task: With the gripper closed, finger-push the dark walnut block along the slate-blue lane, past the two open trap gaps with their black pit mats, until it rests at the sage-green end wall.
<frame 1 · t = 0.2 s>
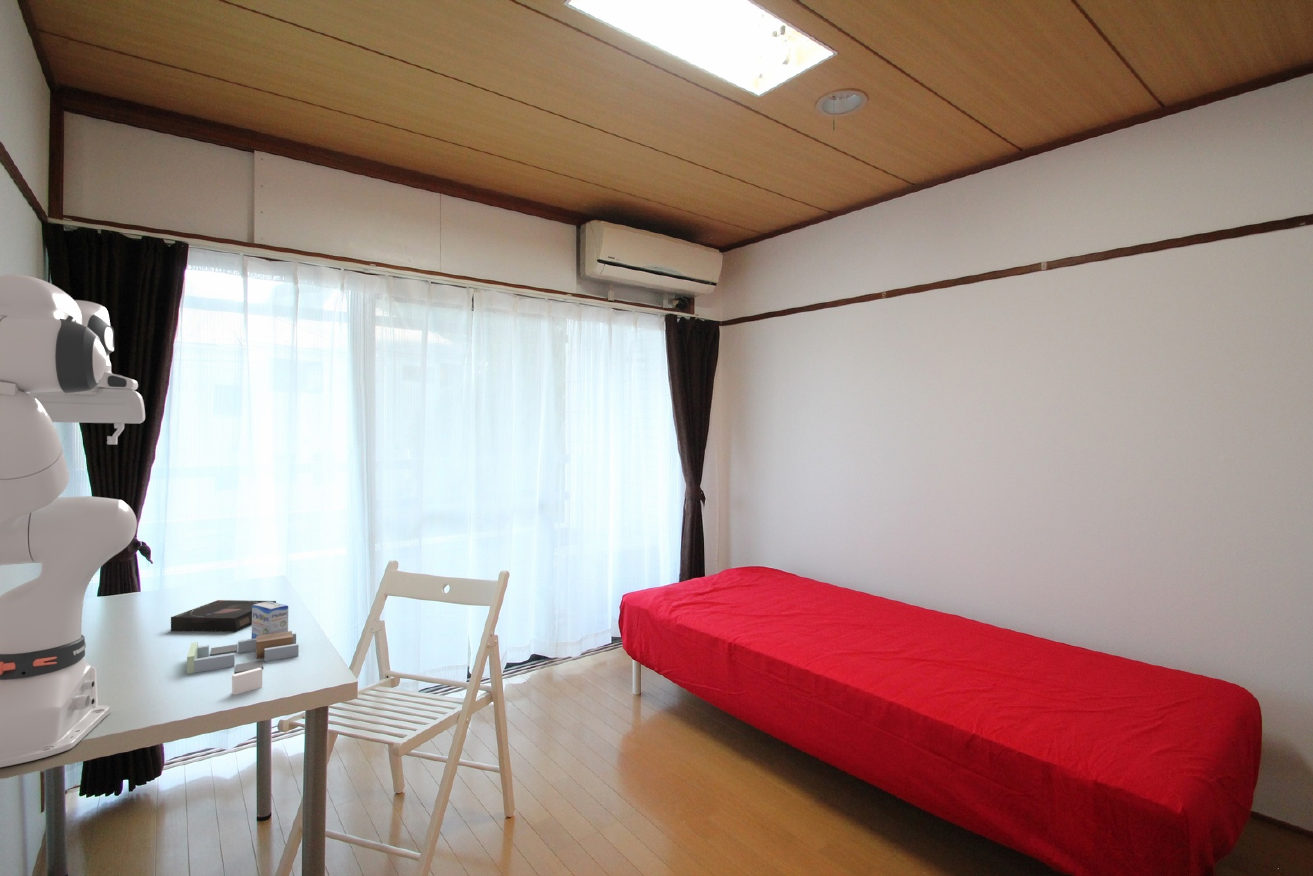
hand: (83, 444, 132), 48 cm above the table, fingers open, 8 cm apart
medicine box: (269, 641, 151), on the table
walnut block: (274, 653, 142), on the table
portable cd player: (227, 624, 166), on the table
eraser: (247, 691, 122), on the table
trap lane: (248, 656, 140), on the table
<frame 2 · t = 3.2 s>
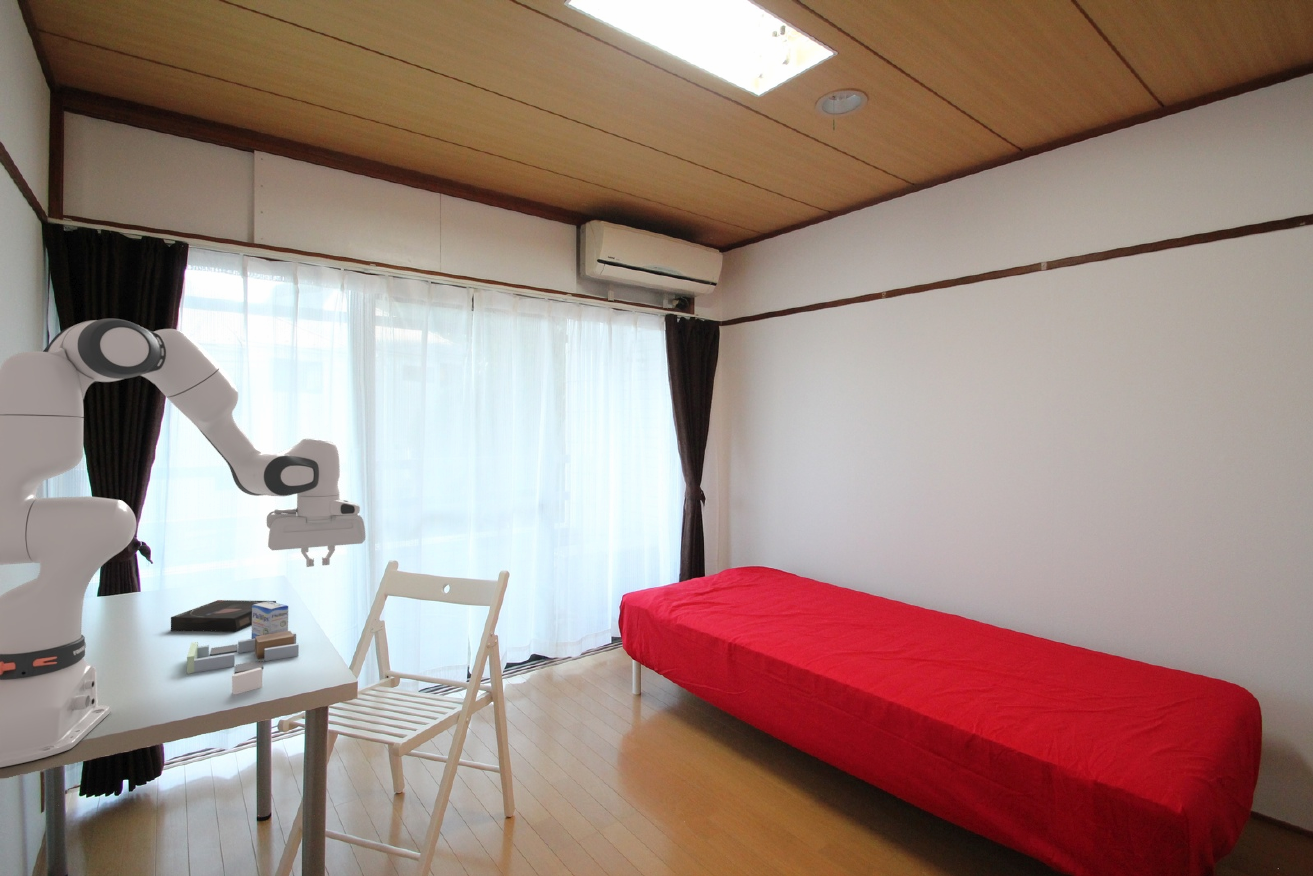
hand: (318, 565, 147), 19 cm above the table, fingers closed
nothing on the table moved.
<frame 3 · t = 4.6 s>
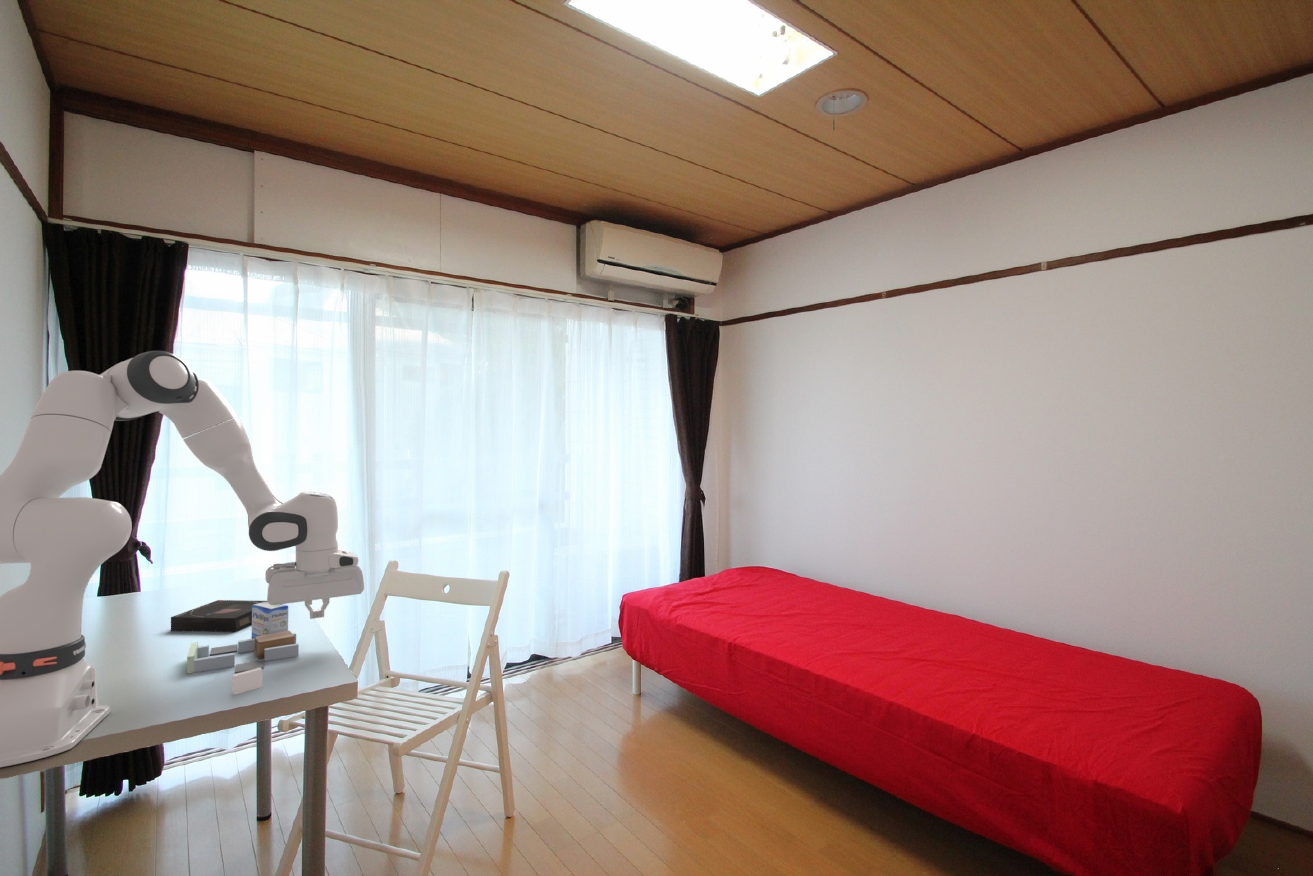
hand: (317, 617, 148), 7 cm above the table, fingers closed
nothing on the table moved.
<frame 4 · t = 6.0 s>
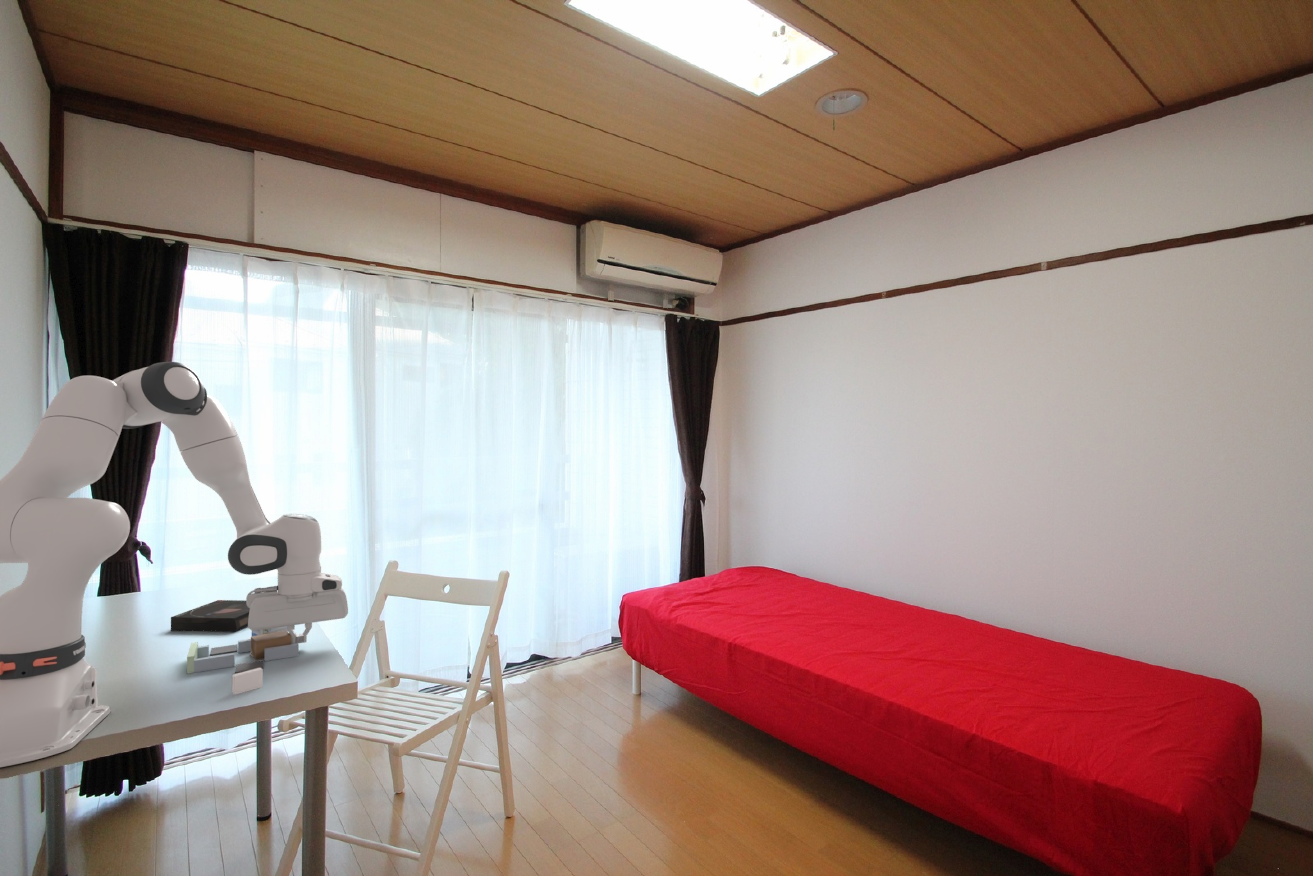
hand: (299, 642, 145), 2 cm above the table, fingers closed
walnut block: (271, 653, 142), on the table, touching gripper
everything else where it was.
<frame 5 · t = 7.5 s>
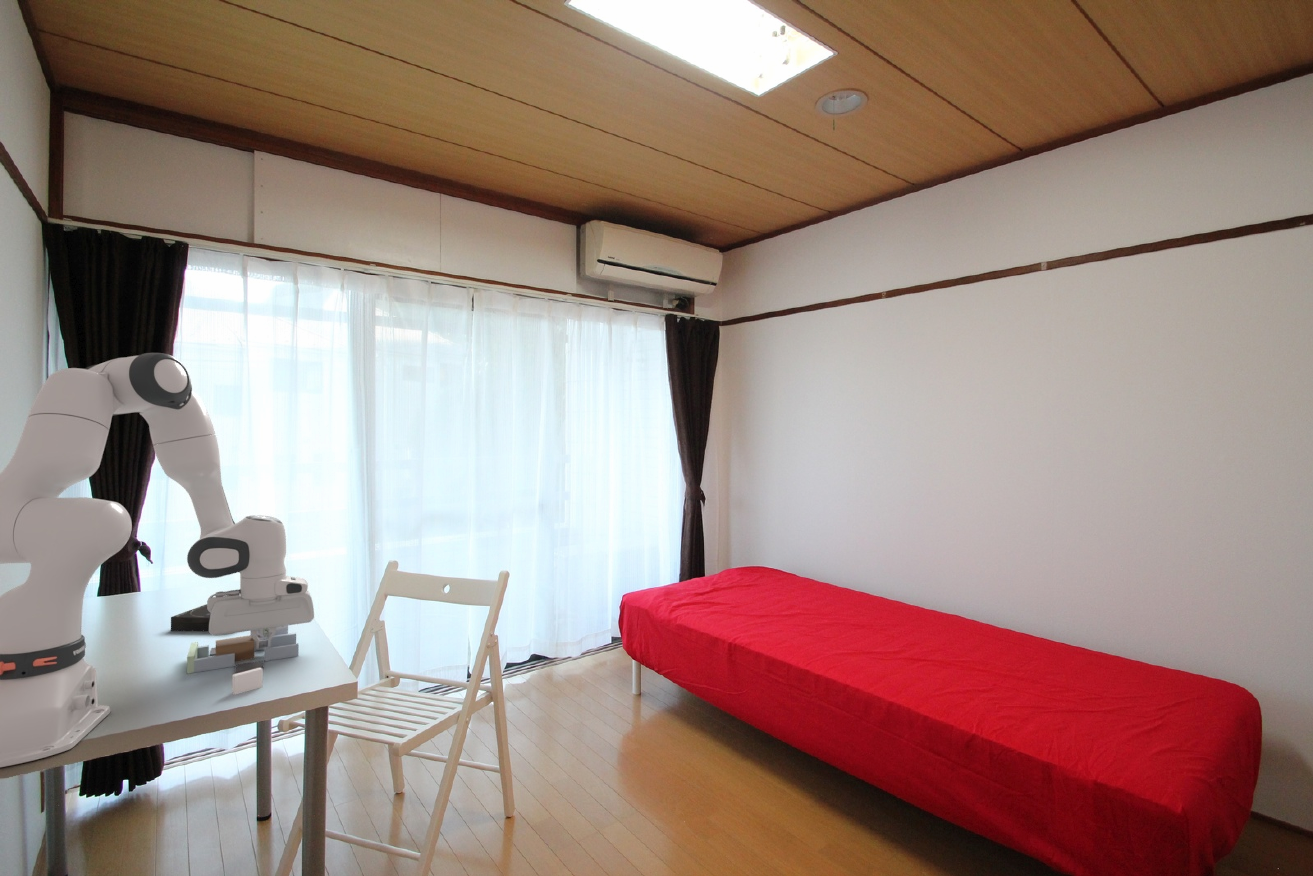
hand: (263, 647, 141), 2 cm above the table, fingers closed
walnut block: (234, 658, 139), on the table, touching gripper
everything else where it was.
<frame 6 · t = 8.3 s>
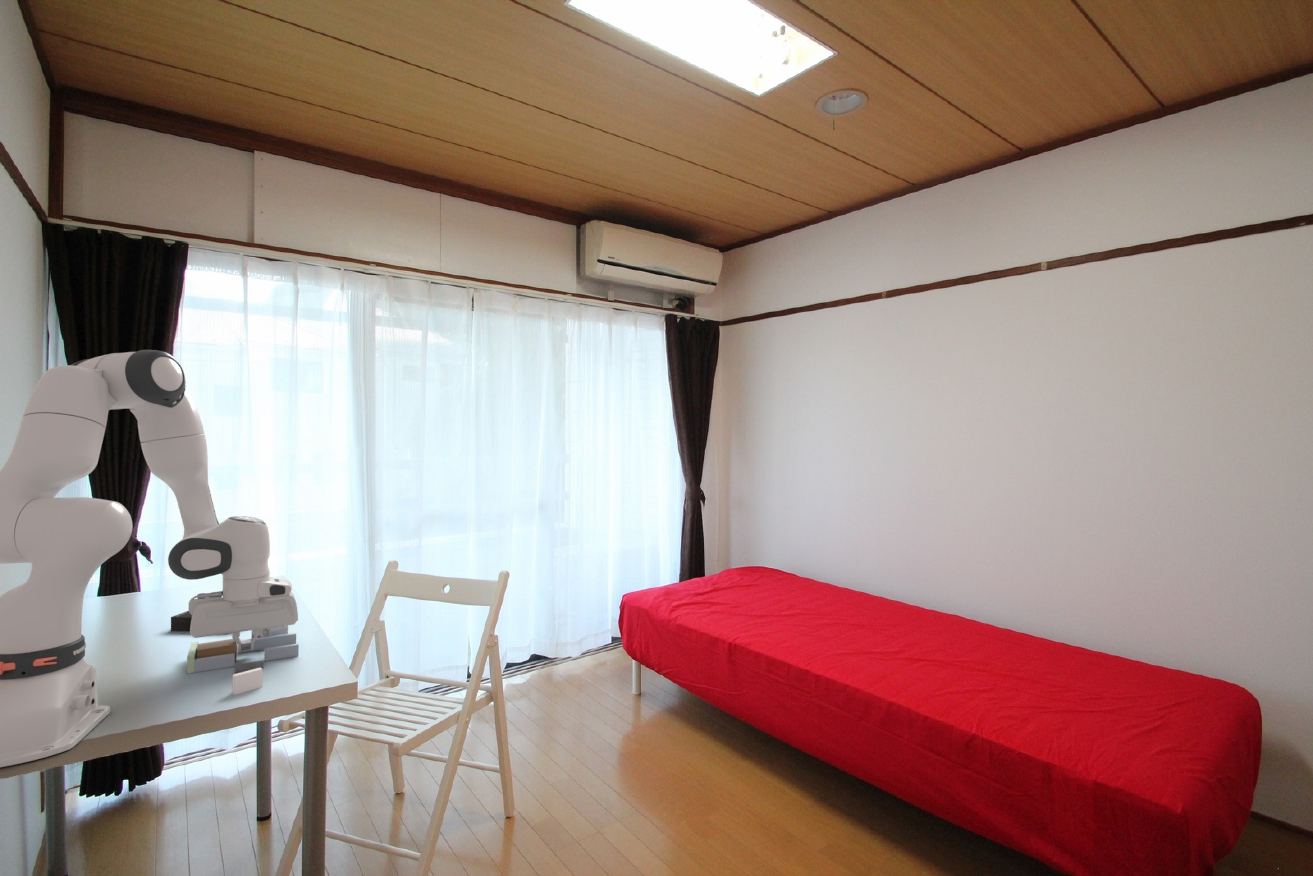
hand: (246, 650, 139), 2 cm above the table, fingers closed
walnut block: (217, 662, 137), on the table
everything else where it was.
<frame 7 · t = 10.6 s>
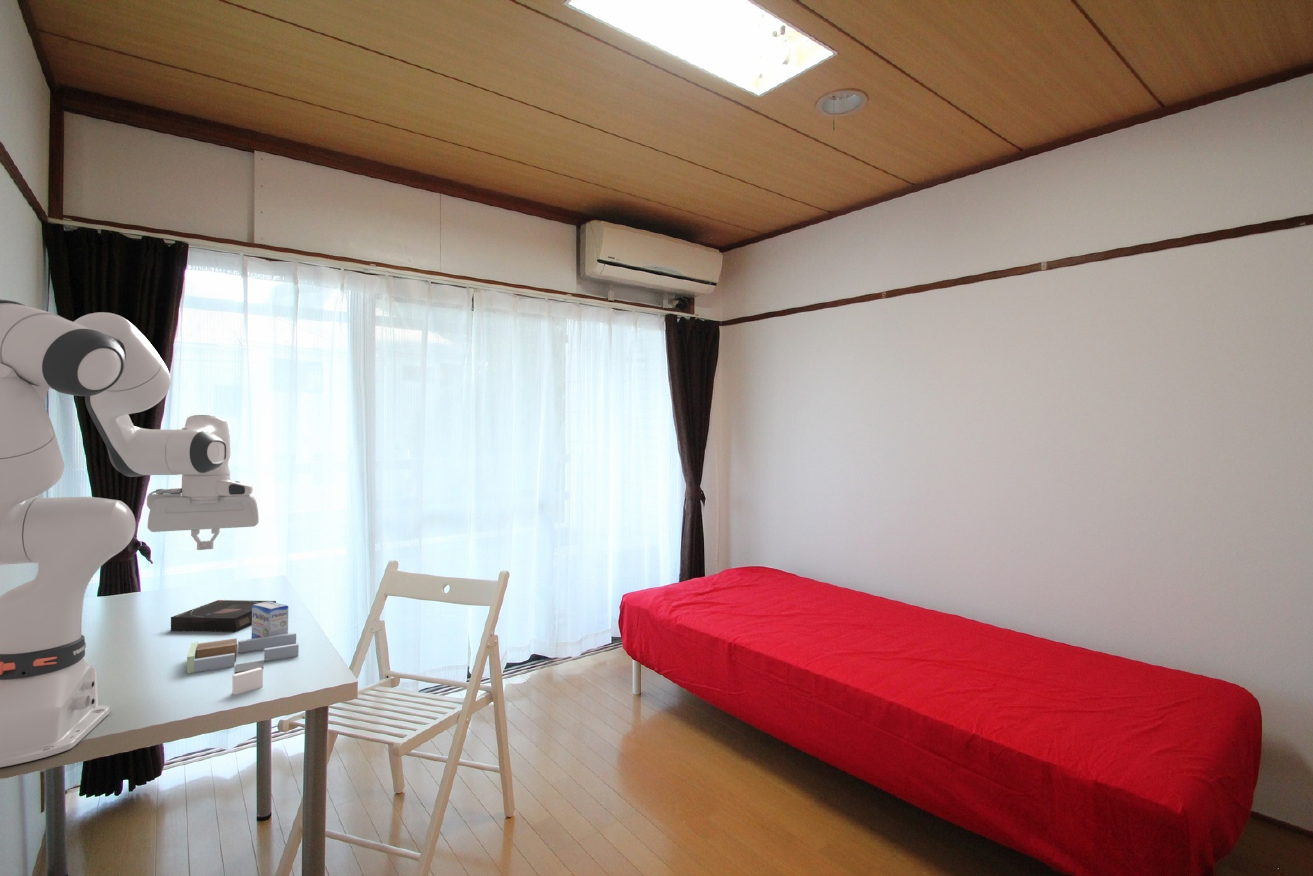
hand: (205, 549, 140), 24 cm above the table, fingers closed
nothing on the table moved.
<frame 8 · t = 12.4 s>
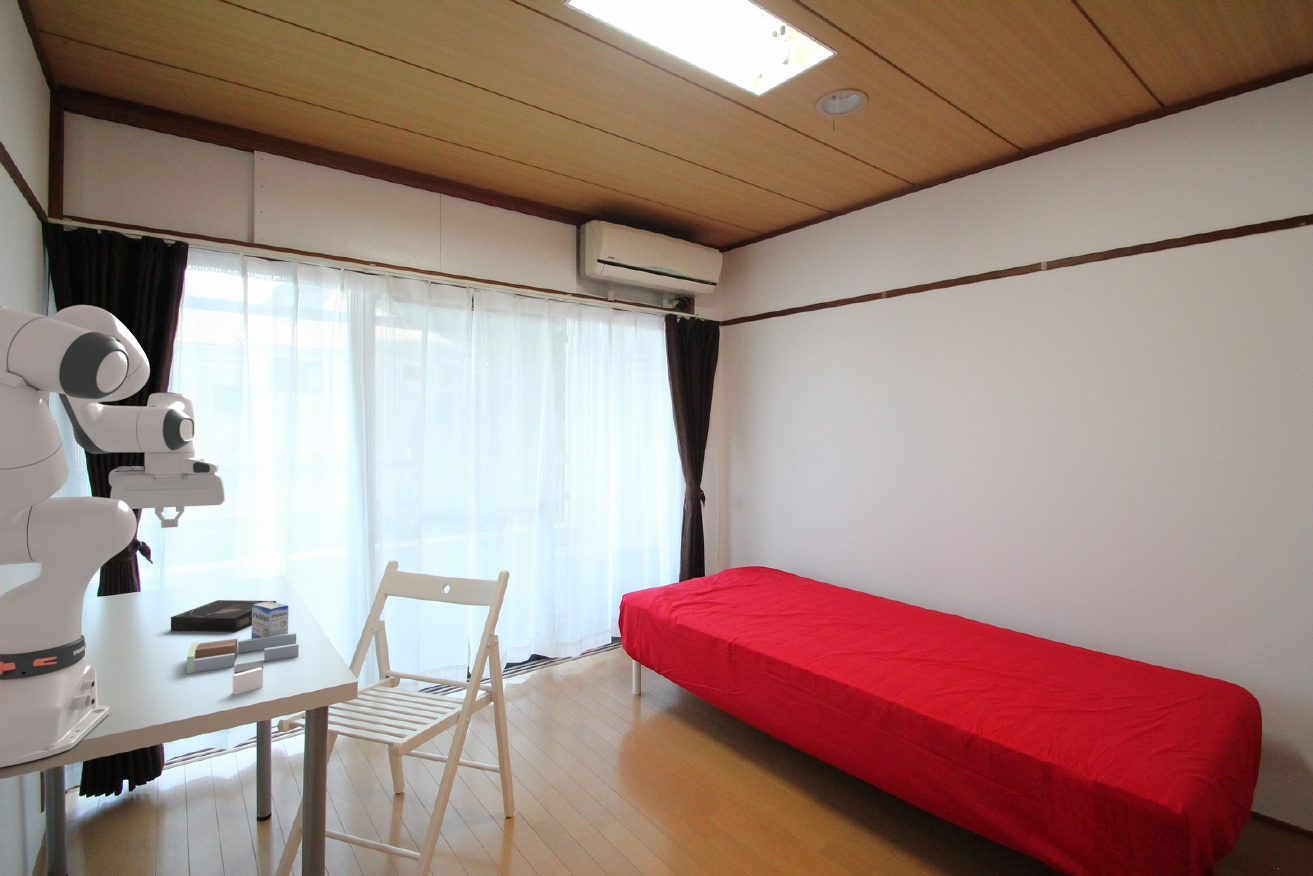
hand: (169, 527, 139), 29 cm above the table, fingers closed
nothing on the table moved.
at the end: walnut block 0.3 cm from the target spot on the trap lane, point 0.0 cm above the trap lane's base; walnut block tilted 0° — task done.
